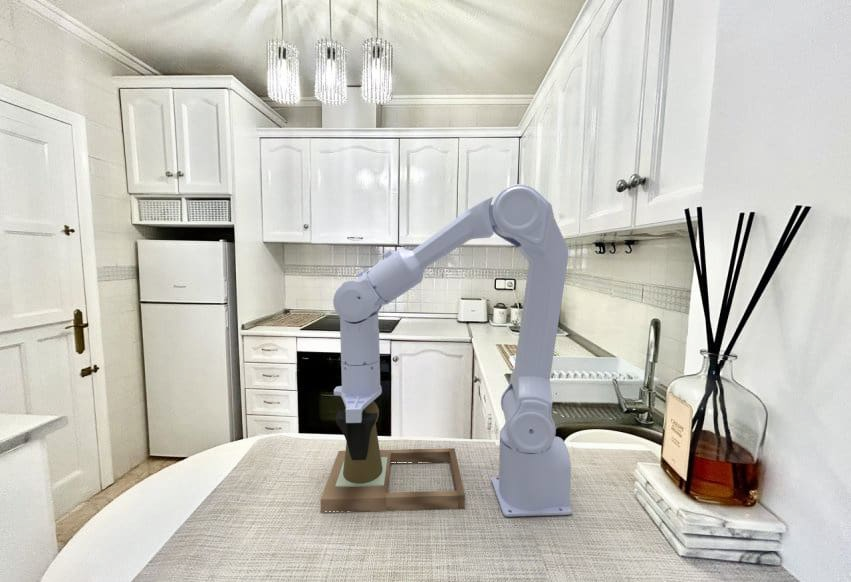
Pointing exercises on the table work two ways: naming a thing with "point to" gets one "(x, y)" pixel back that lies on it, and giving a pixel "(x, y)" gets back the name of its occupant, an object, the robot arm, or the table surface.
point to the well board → (376, 494)
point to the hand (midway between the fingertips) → (362, 445)
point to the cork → (372, 465)
